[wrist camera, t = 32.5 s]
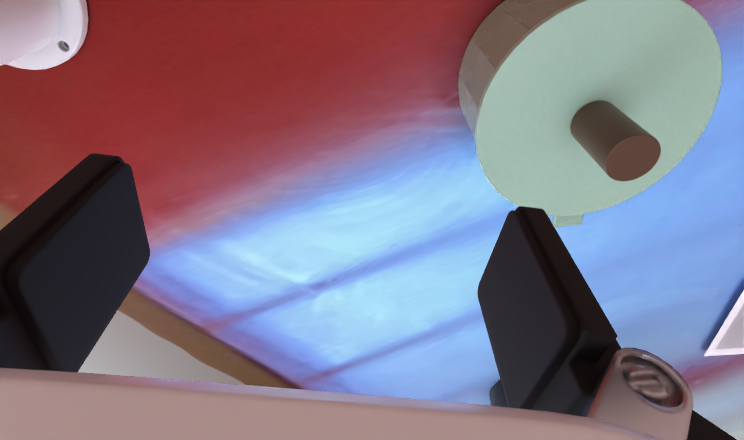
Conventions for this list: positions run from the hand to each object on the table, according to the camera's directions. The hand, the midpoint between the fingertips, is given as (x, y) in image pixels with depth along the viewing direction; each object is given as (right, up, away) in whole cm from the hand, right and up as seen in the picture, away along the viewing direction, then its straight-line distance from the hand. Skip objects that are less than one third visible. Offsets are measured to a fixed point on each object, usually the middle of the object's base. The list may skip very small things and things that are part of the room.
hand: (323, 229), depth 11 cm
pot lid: (+17, +8, +20) cm, 27 cm away
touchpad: (+53, -13, +47) cm, 73 cm away
